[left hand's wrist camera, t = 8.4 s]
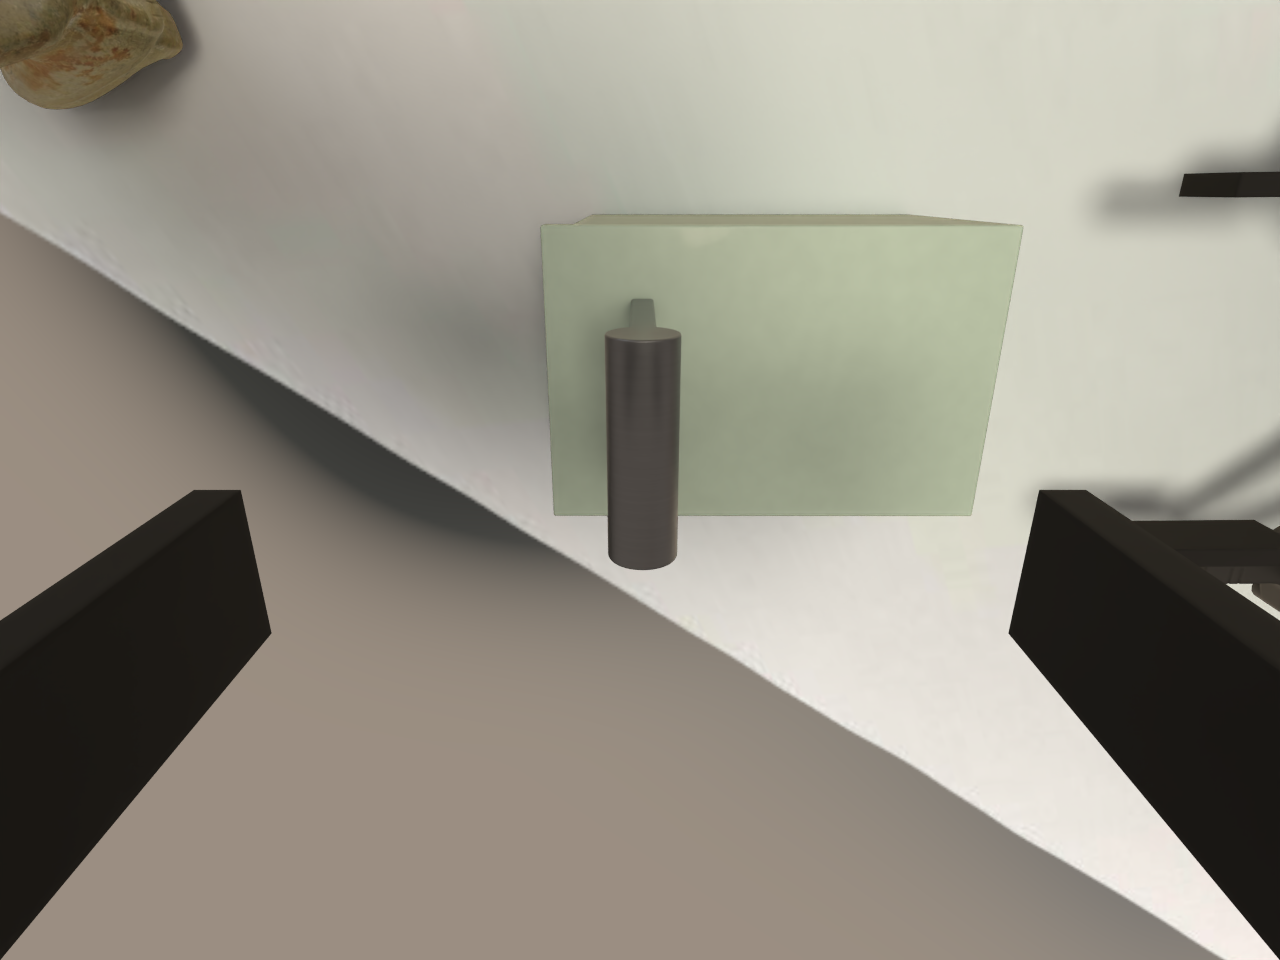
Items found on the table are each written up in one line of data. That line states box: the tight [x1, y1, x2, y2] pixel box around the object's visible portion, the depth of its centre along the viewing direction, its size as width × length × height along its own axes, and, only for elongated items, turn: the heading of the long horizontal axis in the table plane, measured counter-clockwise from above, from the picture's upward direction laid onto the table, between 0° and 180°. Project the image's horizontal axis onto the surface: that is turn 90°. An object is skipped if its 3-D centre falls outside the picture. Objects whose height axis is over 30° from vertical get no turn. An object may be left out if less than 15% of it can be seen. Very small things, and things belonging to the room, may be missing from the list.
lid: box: [540, 224, 1023, 570], centre depth 21 cm, size 15×10×8 cm, turn 90°
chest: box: [575, 215, 1003, 224], centre depth 29 cm, size 14×10×9 cm
